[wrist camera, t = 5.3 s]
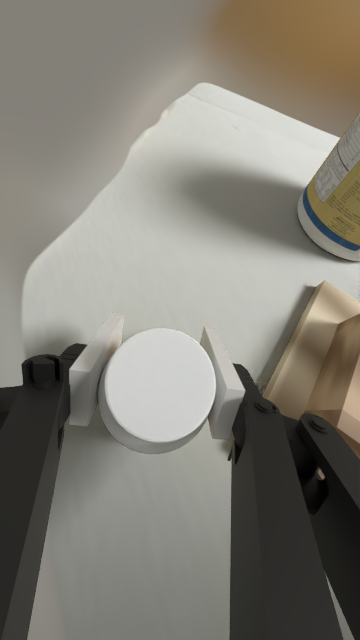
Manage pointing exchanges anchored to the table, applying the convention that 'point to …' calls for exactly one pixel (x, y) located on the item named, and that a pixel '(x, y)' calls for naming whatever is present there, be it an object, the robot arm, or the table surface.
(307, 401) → the birch rack
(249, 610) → the robot arm
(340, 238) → the supplement tub
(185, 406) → the supplement bottle
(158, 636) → the table surface
